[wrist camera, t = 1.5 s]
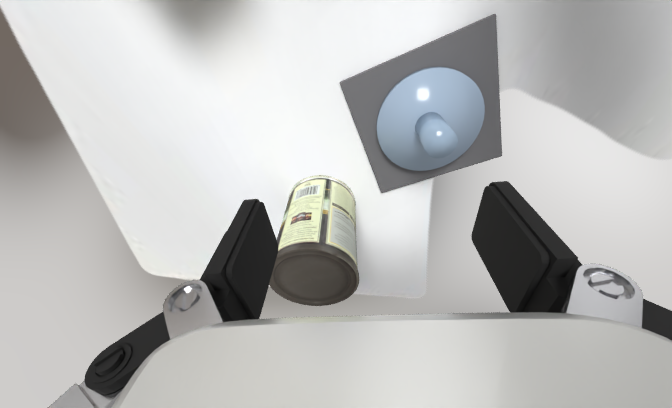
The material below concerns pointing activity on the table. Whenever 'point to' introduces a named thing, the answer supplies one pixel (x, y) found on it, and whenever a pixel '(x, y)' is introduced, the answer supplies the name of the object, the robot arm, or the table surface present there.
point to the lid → (430, 118)
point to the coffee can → (317, 244)
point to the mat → (448, 51)
